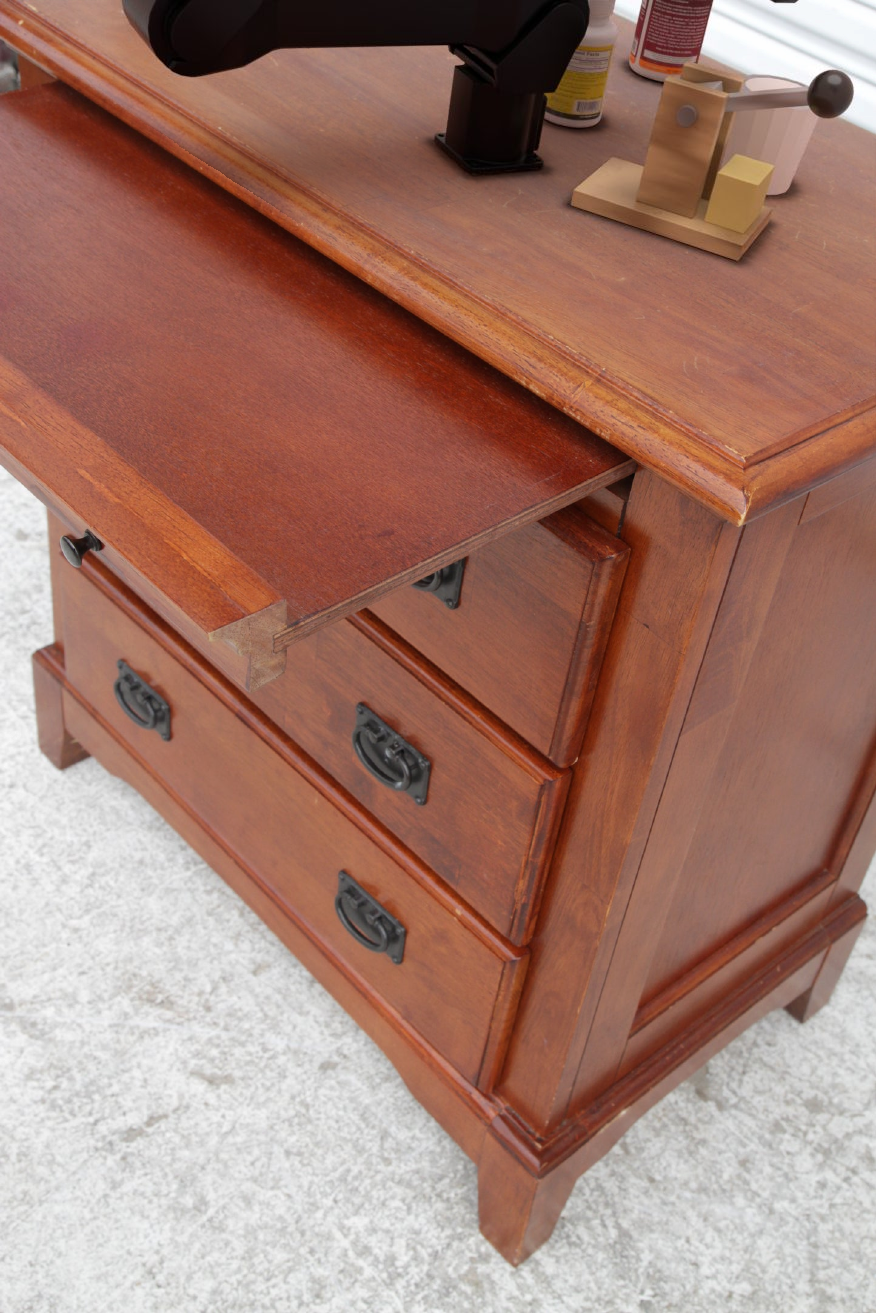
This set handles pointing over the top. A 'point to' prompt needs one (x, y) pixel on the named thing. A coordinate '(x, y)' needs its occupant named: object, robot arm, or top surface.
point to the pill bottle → (668, 36)
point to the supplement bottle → (586, 72)
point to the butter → (739, 193)
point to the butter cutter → (676, 168)
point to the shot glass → (772, 133)
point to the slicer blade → (797, 96)
